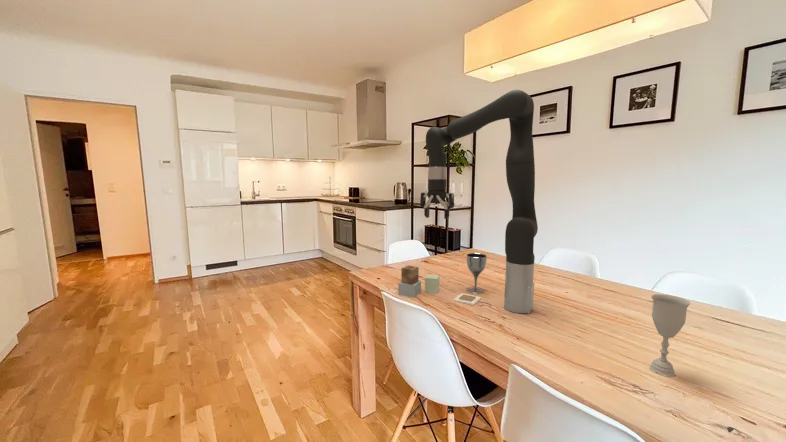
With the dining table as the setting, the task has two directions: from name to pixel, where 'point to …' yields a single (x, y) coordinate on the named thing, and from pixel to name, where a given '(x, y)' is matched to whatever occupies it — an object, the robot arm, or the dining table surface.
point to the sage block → (432, 283)
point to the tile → (467, 299)
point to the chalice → (667, 326)
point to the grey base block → (409, 289)
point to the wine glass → (476, 268)
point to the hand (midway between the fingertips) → (436, 218)
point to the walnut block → (409, 275)
